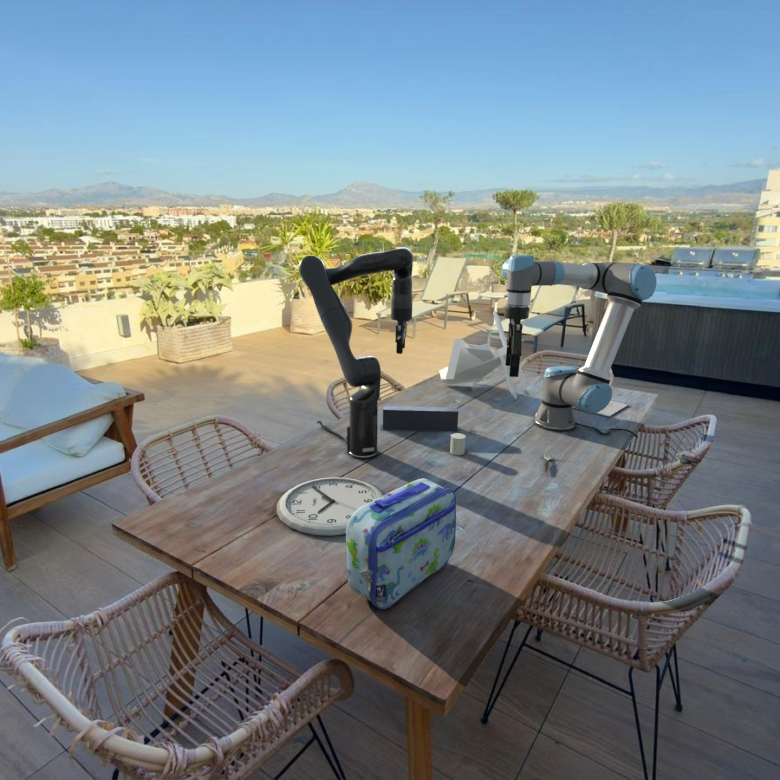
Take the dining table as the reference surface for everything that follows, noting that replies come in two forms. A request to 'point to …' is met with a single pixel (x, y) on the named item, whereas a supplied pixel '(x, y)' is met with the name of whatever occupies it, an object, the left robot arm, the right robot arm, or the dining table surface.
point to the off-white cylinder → (457, 444)
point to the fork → (547, 459)
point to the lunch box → (400, 540)
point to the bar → (420, 418)
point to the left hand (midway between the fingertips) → (400, 350)
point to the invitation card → (611, 408)
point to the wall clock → (324, 504)
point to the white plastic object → (479, 362)
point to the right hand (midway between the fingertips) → (511, 370)
